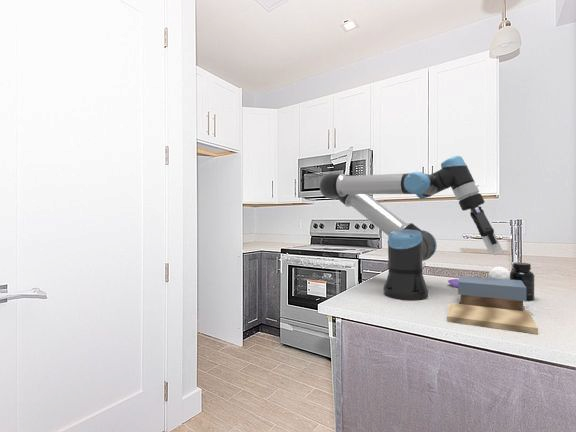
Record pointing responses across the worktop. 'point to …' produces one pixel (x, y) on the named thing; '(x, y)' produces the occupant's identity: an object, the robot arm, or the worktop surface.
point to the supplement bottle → (524, 278)
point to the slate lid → (492, 288)
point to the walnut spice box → (492, 302)
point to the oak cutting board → (492, 318)
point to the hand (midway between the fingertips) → (496, 253)
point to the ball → (499, 273)
